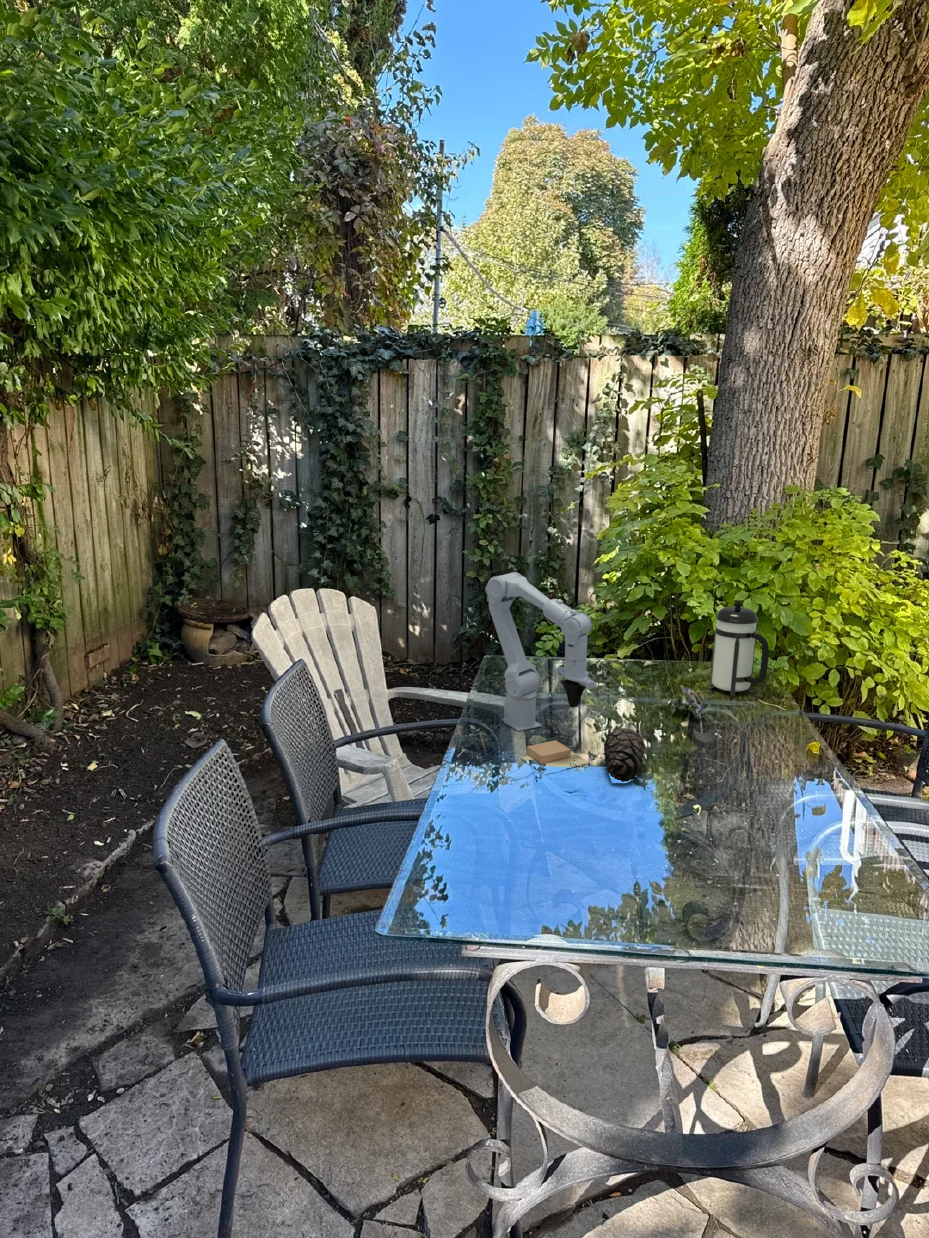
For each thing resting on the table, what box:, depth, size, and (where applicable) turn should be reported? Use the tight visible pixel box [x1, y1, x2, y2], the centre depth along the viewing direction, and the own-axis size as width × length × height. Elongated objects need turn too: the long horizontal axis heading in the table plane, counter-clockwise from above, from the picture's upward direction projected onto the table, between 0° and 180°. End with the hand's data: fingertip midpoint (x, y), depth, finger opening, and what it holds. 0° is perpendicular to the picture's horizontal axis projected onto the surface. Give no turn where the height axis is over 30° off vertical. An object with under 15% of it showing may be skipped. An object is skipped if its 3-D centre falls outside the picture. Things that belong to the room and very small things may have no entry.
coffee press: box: [706, 600, 770, 699], centre depth 253 cm, size 17×16×30 cm
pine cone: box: [603, 727, 646, 781], centre depth 198 cm, size 10×18×10 cm, turn 174°
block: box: [526, 739, 572, 764], centre depth 207 cm, size 2×9×7 cm
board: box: [520, 750, 591, 768], centre depth 205 cm, size 11×14×1 cm
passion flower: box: [665, 684, 707, 720], centre depth 235 cm, size 11×11×12 cm
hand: (573, 706), depth 215 cm, fingers closed
